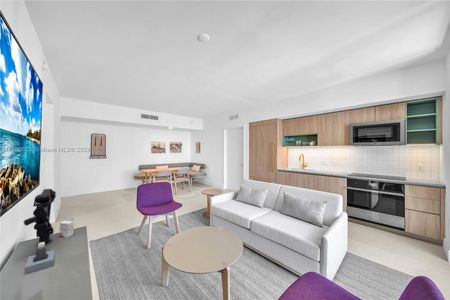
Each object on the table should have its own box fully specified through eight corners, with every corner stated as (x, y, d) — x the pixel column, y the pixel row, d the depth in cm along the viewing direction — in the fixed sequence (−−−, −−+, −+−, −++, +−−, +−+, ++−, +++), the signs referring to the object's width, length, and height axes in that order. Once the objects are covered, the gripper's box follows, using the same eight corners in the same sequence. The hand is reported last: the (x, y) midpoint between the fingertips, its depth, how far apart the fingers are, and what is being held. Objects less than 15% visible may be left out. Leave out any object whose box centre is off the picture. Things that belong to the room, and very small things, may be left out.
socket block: (28, 262, 112) (28, 256, 112) (53, 255, 121) (54, 249, 121) (24, 274, 102) (24, 267, 102) (53, 265, 110) (53, 259, 110)
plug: (35, 262, 111) (36, 242, 112) (45, 259, 115) (46, 240, 115) (35, 265, 108) (36, 245, 108) (45, 262, 111) (46, 243, 111)
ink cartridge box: (58, 236, 146) (59, 219, 146) (64, 233, 151) (65, 217, 151) (67, 237, 145) (68, 219, 145) (73, 234, 150) (74, 217, 150)
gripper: (27, 210, 126) (26, 232, 125) (22, 218, 112) (21, 242, 112) (49, 207, 133) (48, 228, 133) (47, 214, 120) (46, 237, 120)
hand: (41, 233), depth 124 cm, fingers open, 9 cm apart
